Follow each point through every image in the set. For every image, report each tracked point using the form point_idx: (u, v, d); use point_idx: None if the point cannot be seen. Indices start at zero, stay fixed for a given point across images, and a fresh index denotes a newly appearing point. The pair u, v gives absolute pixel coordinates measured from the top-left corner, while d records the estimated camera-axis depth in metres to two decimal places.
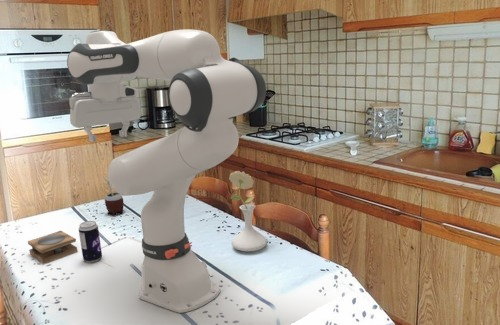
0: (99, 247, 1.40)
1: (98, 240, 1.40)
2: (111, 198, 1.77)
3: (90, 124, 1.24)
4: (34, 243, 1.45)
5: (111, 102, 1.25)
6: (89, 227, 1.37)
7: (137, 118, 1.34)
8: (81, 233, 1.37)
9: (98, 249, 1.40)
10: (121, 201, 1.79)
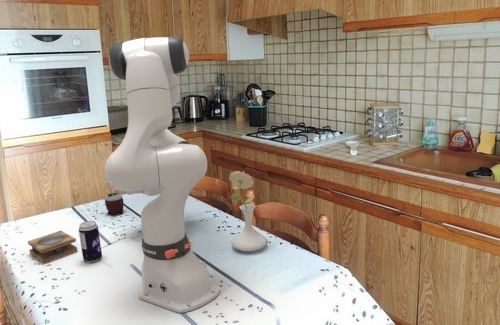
0: (99, 247, 1.40)
1: (98, 240, 1.40)
2: (111, 198, 1.77)
3: None
4: (34, 243, 1.45)
5: None
6: (89, 227, 1.37)
7: None
8: (81, 233, 1.37)
9: (98, 249, 1.40)
10: (121, 201, 1.79)
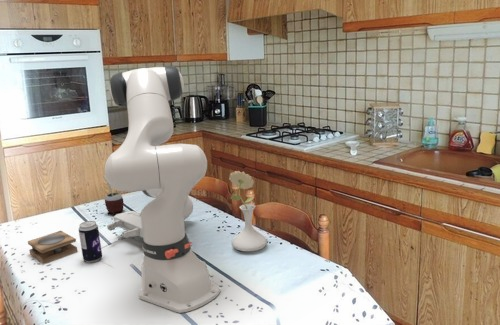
0: (99, 247, 1.40)
1: (98, 240, 1.40)
2: (111, 198, 1.77)
3: (120, 217, 1.54)
4: (34, 243, 1.45)
5: None
6: (89, 227, 1.37)
7: None
8: (81, 233, 1.37)
9: (98, 249, 1.40)
10: (121, 201, 1.79)
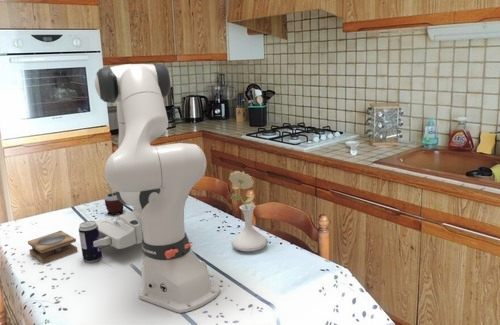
0: (99, 247, 1.40)
1: None
2: (111, 198, 1.77)
3: None
4: (34, 243, 1.45)
5: (117, 221, 1.46)
6: (89, 227, 1.37)
7: (116, 237, 1.37)
8: (81, 233, 1.37)
9: (98, 249, 1.40)
10: None
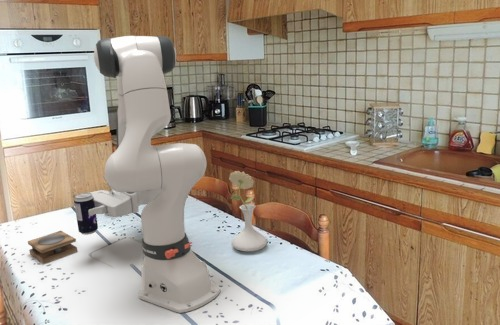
0: (95, 219, 1.38)
1: None
2: None
3: None
4: (34, 243, 1.45)
5: (113, 191, 1.44)
6: (85, 198, 1.35)
7: (112, 205, 1.34)
8: (77, 204, 1.35)
9: (94, 221, 1.38)
10: None
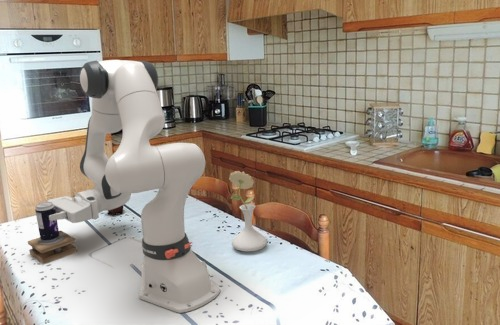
0: (56, 227, 1.45)
1: (55, 220, 1.45)
2: None
3: (52, 202, 1.51)
4: (34, 243, 1.45)
5: (75, 197, 1.51)
6: (46, 207, 1.42)
7: (71, 211, 1.41)
8: (38, 213, 1.42)
9: (55, 229, 1.45)
10: None
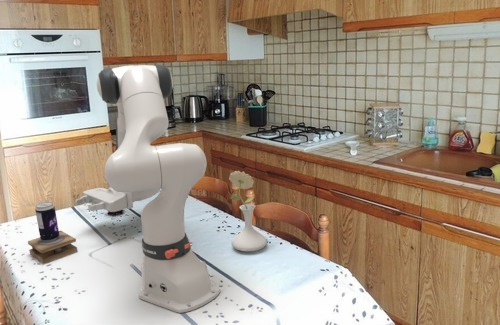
0: (56, 227, 1.45)
1: (55, 220, 1.45)
2: None
3: (88, 193, 1.60)
4: (34, 243, 1.45)
5: (110, 188, 1.60)
6: (46, 207, 1.42)
7: (109, 201, 1.50)
8: (38, 213, 1.42)
9: (55, 229, 1.45)
10: None
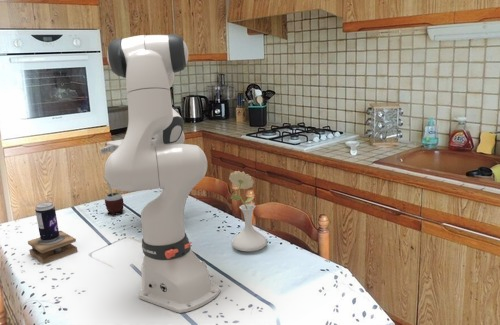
0: (56, 227, 1.45)
1: (55, 220, 1.45)
2: (111, 198, 1.77)
3: (112, 143, 1.59)
4: (34, 243, 1.45)
5: None
6: (46, 207, 1.42)
7: None
8: (38, 213, 1.42)
9: (55, 229, 1.45)
10: (121, 201, 1.79)
